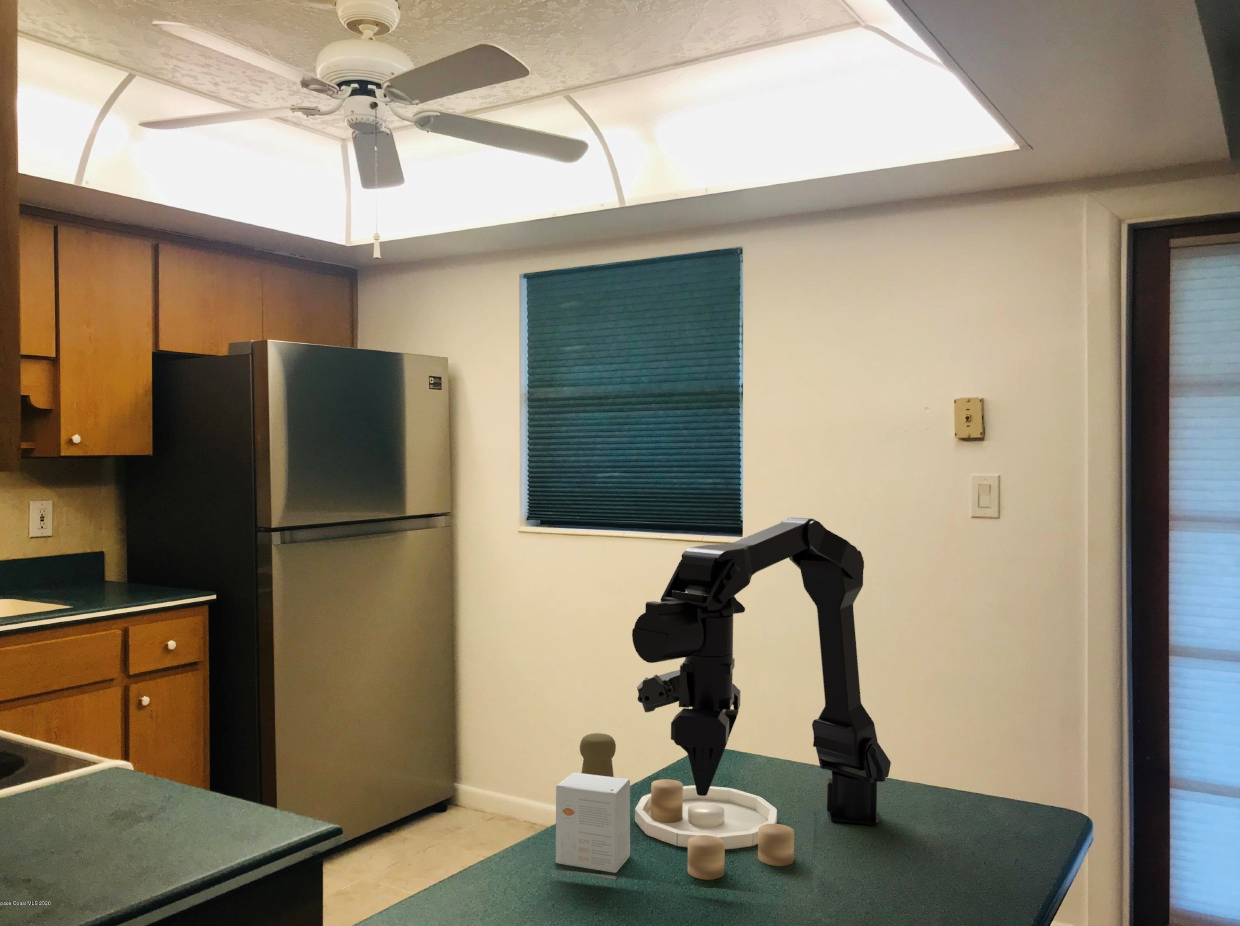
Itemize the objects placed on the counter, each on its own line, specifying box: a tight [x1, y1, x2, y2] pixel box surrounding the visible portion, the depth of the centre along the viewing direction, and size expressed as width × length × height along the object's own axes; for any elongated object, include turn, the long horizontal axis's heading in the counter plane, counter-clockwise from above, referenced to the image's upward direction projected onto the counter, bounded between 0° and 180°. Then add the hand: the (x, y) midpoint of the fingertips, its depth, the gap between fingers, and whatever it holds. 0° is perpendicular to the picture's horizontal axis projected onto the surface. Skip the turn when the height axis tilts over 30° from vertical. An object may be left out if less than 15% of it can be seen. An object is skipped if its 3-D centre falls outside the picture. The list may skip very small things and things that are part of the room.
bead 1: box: [650, 778, 684, 823], centre depth 127 cm, size 4×4×4 cm
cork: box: [579, 732, 617, 777], centre depth 132 cm, size 6×6×11 cm
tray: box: [634, 784, 778, 850], centre depth 126 cm, size 19×19×3 cm
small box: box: [555, 772, 631, 881], centre depth 113 cm, size 8×6×10 cm
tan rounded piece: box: [687, 835, 726, 889], centre depth 110 cm, size 4×4×4 cm
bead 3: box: [757, 823, 795, 867], centre depth 114 cm, size 4×4×4 cm
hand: (707, 782), depth 110 cm, fingers open, 9 cm apart
